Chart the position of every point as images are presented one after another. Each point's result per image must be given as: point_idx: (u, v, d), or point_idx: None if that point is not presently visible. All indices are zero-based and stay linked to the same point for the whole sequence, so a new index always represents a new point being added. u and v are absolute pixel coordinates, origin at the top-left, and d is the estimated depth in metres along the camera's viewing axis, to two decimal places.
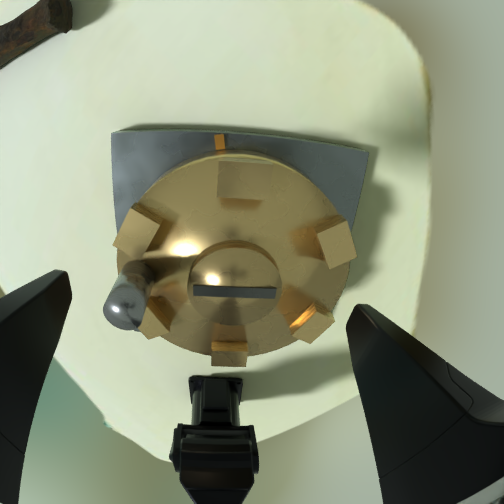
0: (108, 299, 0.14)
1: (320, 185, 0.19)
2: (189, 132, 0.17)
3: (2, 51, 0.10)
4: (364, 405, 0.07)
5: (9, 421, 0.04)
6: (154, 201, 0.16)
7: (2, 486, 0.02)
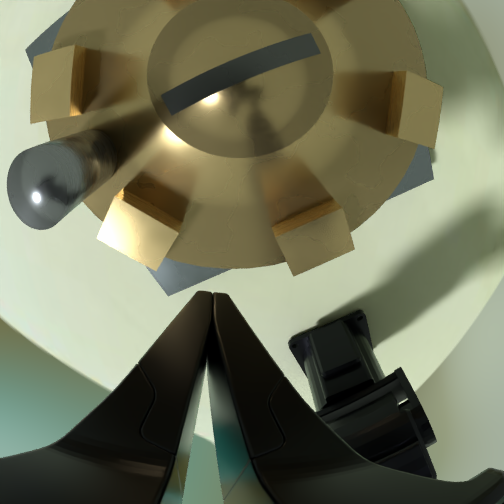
0: (10, 176, 0.06)
1: None
2: None
3: None
4: None
5: None
6: (68, 38, 0.07)
7: None
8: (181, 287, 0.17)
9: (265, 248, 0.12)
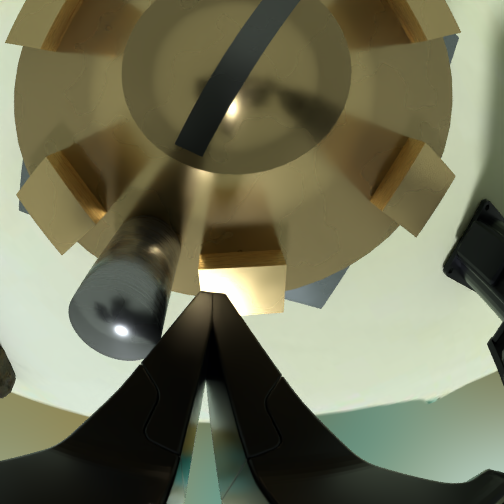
0: None
1: None
2: None
3: None
4: None
5: None
6: (36, 155, 0.07)
7: None
8: (328, 293, 0.15)
9: (374, 225, 0.10)
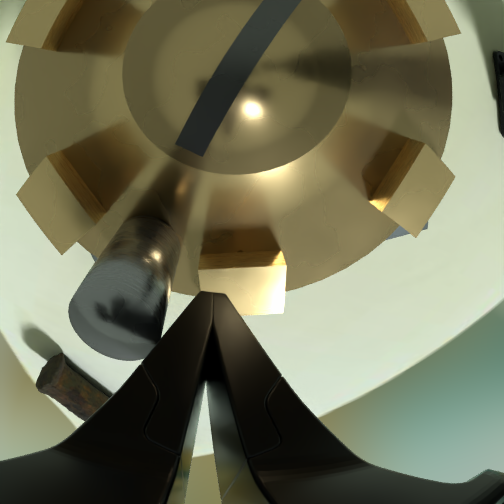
0: None
1: None
2: None
3: None
4: None
5: None
6: (36, 154, 0.07)
7: None
8: None
9: (374, 225, 0.10)
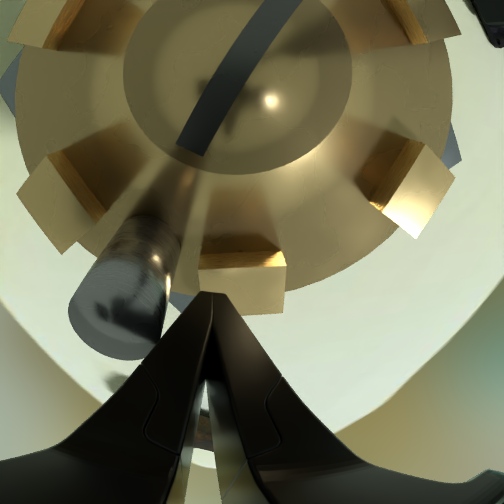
0: None
1: None
2: None
3: (200, 437, 0.20)
4: (209, 410, 0.06)
5: None
6: (37, 154, 0.07)
7: None
8: (455, 144, 0.12)
9: (374, 226, 0.10)
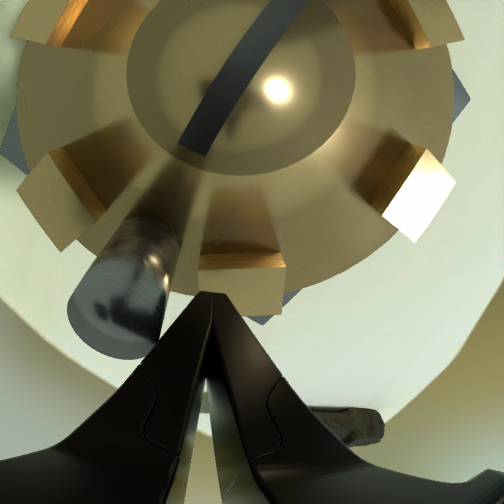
0: None
1: None
2: None
3: None
4: (209, 410, 0.06)
5: None
6: (37, 150, 0.07)
7: None
8: (460, 85, 0.10)
9: (373, 229, 0.10)
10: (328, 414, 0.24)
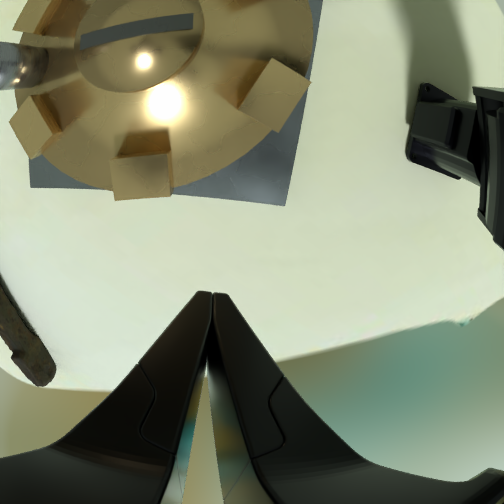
0: None
1: None
2: None
3: None
4: None
5: None
6: None
7: None
8: (285, 189, 0.17)
9: (107, 173, 0.12)
10: (19, 319, 0.21)
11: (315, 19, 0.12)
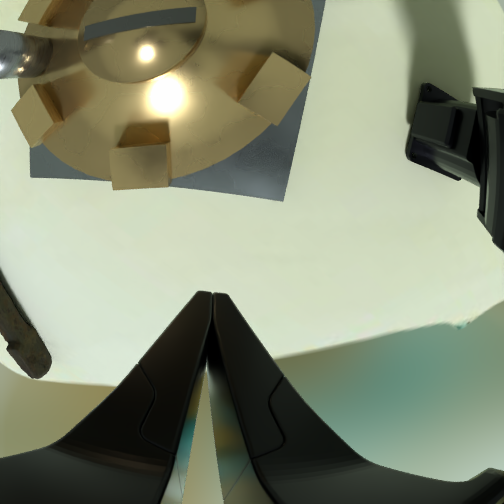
0: None
1: None
2: None
3: None
4: None
5: None
6: None
7: None
8: (283, 184, 0.17)
9: (106, 163, 0.12)
10: (15, 310, 0.21)
11: (318, 17, 0.12)
